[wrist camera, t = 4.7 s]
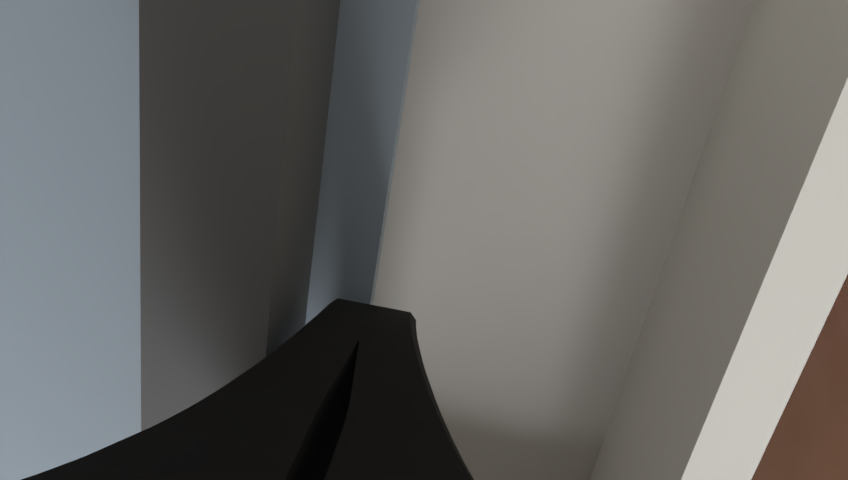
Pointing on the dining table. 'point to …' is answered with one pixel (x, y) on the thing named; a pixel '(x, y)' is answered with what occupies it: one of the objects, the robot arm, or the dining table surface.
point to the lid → (180, 199)
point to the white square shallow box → (619, 227)
